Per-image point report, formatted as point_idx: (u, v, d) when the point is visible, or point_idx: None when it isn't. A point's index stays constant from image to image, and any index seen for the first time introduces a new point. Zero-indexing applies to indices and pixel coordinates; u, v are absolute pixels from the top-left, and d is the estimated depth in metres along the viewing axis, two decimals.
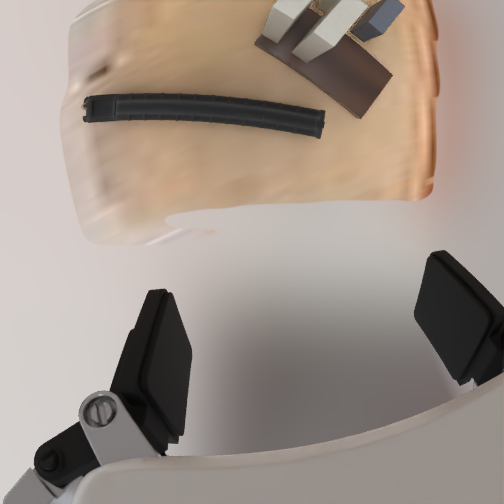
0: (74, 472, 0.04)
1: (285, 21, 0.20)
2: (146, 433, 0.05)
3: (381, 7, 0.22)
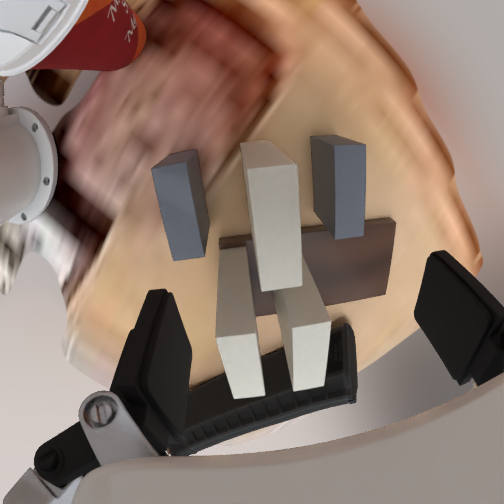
0: (74, 472, 0.04)
1: None
2: (146, 433, 0.05)
3: (336, 193, 0.19)
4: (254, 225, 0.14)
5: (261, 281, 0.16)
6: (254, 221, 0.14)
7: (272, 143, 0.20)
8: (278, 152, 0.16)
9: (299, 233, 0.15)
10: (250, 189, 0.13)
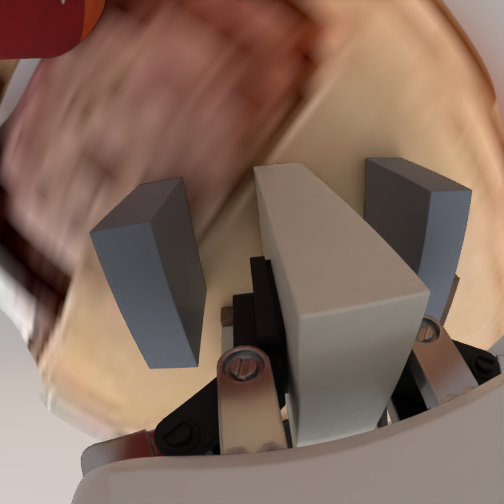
0: (209, 442, 0.05)
1: None
2: None
3: (420, 271, 0.10)
4: (300, 409, 0.05)
5: None
6: (301, 405, 0.05)
7: (314, 174, 0.11)
8: (346, 213, 0.07)
9: (385, 404, 0.06)
10: (302, 359, 0.05)
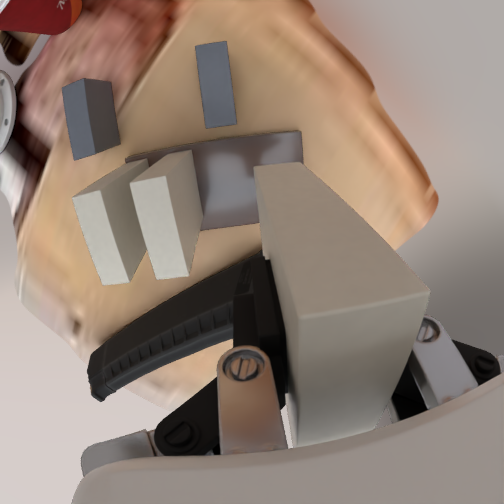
0: (208, 441, 0.05)
1: None
2: None
3: (201, 84, 0.18)
4: (300, 410, 0.05)
5: None
6: (301, 406, 0.05)
7: (314, 174, 0.11)
8: (347, 213, 0.07)
9: (385, 404, 0.06)
10: (302, 359, 0.05)
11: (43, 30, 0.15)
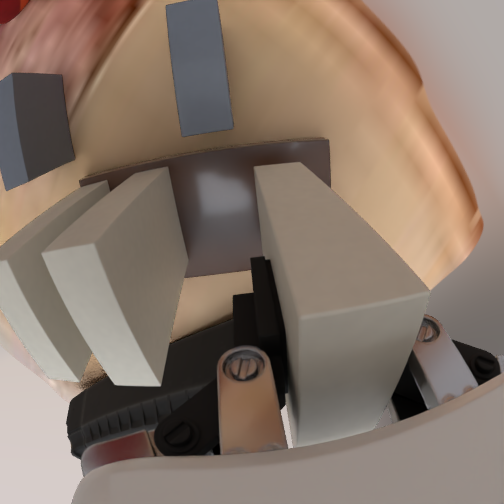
0: (209, 442, 0.05)
1: None
2: None
3: (174, 64, 0.10)
4: (300, 410, 0.05)
5: None
6: (301, 406, 0.05)
7: (314, 174, 0.11)
8: (347, 213, 0.07)
9: (385, 404, 0.06)
10: (302, 360, 0.05)
11: None
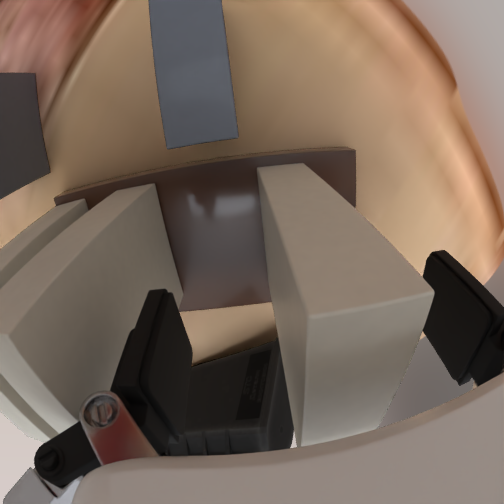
0: (75, 472, 0.04)
1: None
2: (147, 433, 0.05)
3: (156, 49, 0.07)
4: (305, 409, 0.06)
5: None
6: (307, 404, 0.05)
7: (317, 175, 0.11)
8: (351, 214, 0.07)
9: (389, 403, 0.06)
10: (309, 358, 0.05)
11: None
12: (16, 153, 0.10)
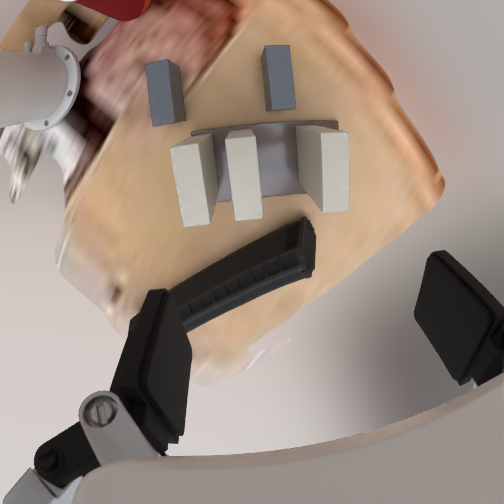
0: (74, 472, 0.04)
1: None
2: (146, 433, 0.05)
3: (269, 76, 0.24)
4: (322, 166, 0.22)
5: (323, 205, 0.24)
6: (322, 164, 0.22)
7: None
8: (331, 129, 0.24)
9: (348, 174, 0.22)
10: (321, 144, 0.21)
11: (119, 14, 0.20)
12: (179, 104, 0.27)
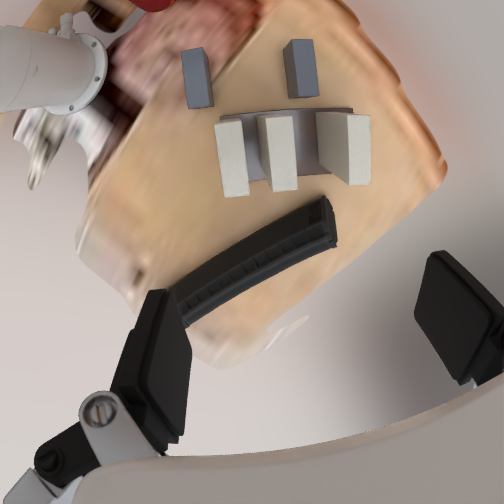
0: (74, 472, 0.04)
1: None
2: (146, 433, 0.05)
3: (296, 66, 0.26)
4: (348, 144, 0.24)
5: (349, 178, 0.26)
6: (349, 142, 0.24)
7: None
8: None
9: (370, 151, 0.25)
10: (348, 125, 0.23)
11: (150, 5, 0.22)
12: (210, 90, 0.29)
